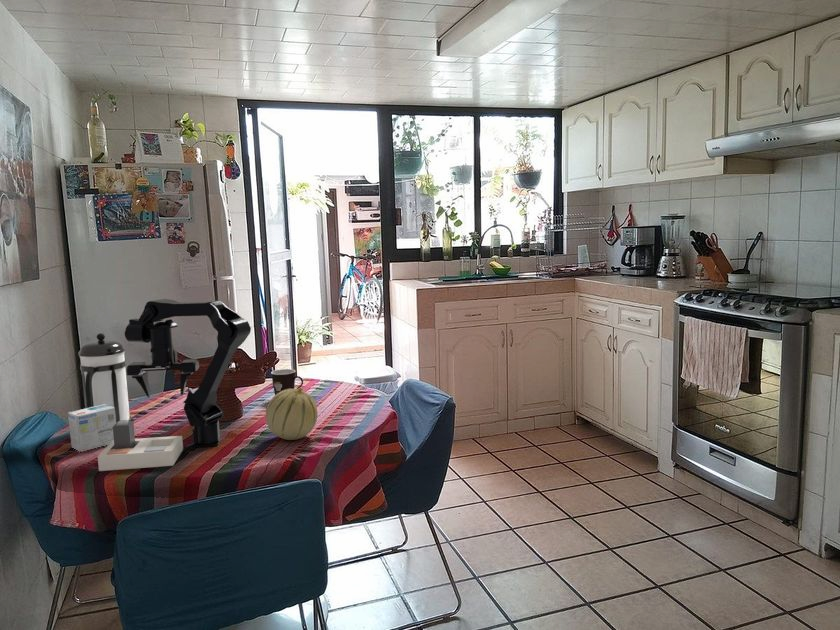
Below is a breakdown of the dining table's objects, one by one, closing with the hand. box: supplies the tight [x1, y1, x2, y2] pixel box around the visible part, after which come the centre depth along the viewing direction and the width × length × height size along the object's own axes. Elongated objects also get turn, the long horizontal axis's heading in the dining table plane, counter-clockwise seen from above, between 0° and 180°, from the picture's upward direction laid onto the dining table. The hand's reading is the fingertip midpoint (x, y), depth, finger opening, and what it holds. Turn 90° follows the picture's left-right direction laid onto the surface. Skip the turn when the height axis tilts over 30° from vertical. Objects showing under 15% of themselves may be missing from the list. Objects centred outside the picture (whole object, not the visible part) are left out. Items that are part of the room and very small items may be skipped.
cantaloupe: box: [265, 387, 319, 441], centre depth 177 cm, size 15×15×15 cm
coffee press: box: [78, 332, 134, 423], centre depth 188 cm, size 17×16×30 cm
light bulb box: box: [67, 404, 116, 452], centre depth 175 cm, size 11×7×11 cm, turn 141°
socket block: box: [97, 435, 184, 472], centre depth 163 cm, size 18×12×4 cm, turn 99°
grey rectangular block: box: [113, 419, 136, 449], centre depth 163 cm, size 4×4×11 cm
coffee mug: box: [270, 368, 304, 396], centre depth 219 cm, size 12×9×10 cm
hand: (165, 396), depth 178 cm, fingers open, 9 cm apart
